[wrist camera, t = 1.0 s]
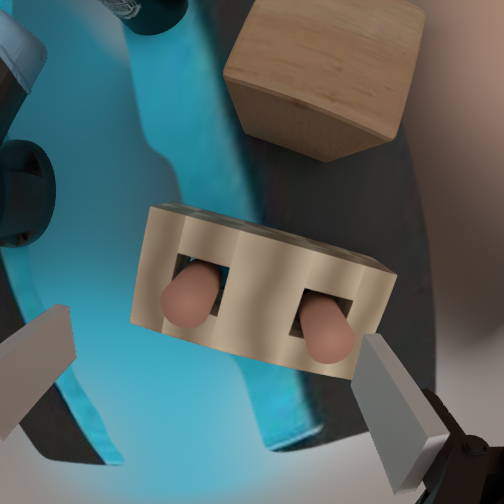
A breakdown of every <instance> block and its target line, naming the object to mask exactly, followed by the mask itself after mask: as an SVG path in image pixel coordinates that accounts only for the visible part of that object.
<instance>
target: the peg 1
mask: <svg viewBox="0 0 504 504" xmlns="http://www.w3.org/2000/svg"><path fill="white" fill-rule="evenodd" d="M222 280H223V277H222V272H221V269H220V268H219V266H218V265H217V264H215V263H212V262H208V261H205V260H201V259H198V258H197V259H194V260H192V261H191V262H190V263H189V264H188V265H187V266H186V267H185V268H184V269H183V270H182V271H181V272H180V273H179V274H178V275H177V276H176V277H175V278H174V280H173V281H172V282H171V283H170V284H169V285H168V286H167V287H166V288H165V289H164V291H163V293H162V295H161V300H160V305H161V309H162V312H163V314H164V316H165V317H166V319H167V320H168V321H169V322H171V323H172V324H173V325H175V326H177V327H180V328H185V329H191V328H196V327H198V326H200V325H201V324H203V323H204V322H205V321H206V319H207V317H208V315H209V313H210V311H211V308H212V306H213V303H214V301H215V299H216V296H217V294H218V292H219V289H220V287H221V284H222Z"/></svg>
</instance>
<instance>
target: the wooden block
mask: <svg viewBox="0 0 504 504" xmlns="http://www.w3.org/2000/svg"><path fill="white" fill-rule="evenodd" d="M425 19H426V14H425V12H424V11H423V10H422V9H420V8H418V7H416V6H415V5H413V4H411V3H409V2H407V1H405V0H255V2H254V4H253V6H252V8H251V10H250V12H249V14H248V16H247V18H246V20H245V23H244V25H243V27H242V29H241V31H240V33H239V36H238V38H237V40H236V42H235V44H234V47H233V49H232V51H231V53H230V56H229V58H228V60H227V63H226V65H225V67H224V70H223V78H224V80H225V83H226V85H227V88H228V91H229V93H230V96H231V98H232V101H233V104H234V106H235V109H236V112H237V114H238V117H239V120H240V122H241V125H242V128H243V130H244V133H246V134H247V135H250V136H253V137H256V138H259V139H262V140H265V141H267V142H270V143H273V144H276V145H279V146H281V147H284V148H287V149H290V150H292V151H295V152H298V153H300V154H303V155H306V156H308V157H311V158H313V159H316V160H318V161H321V162H323V163H328V162H330V161H333V160H336V159H339V158H342V157H345V156H348V155H351V154H354V153H356V152H359V151H362V150H365V149H368V148H371V147H374V146H378V145H381V144H384V143H387V142H390V141H392V140H393V139H394V138H395V137H396V134H397V131H398V128H399V124H400V121H401V117H402V113H403V110H404V107H405V103H406V100H407V96H408V92H409V89H410V85H411V81H412V77H413V73H414V69H415V65H416V61H417V56H418V52H419V48H420V44H421V39H422V34H423V30H424V24H425Z"/></svg>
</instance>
